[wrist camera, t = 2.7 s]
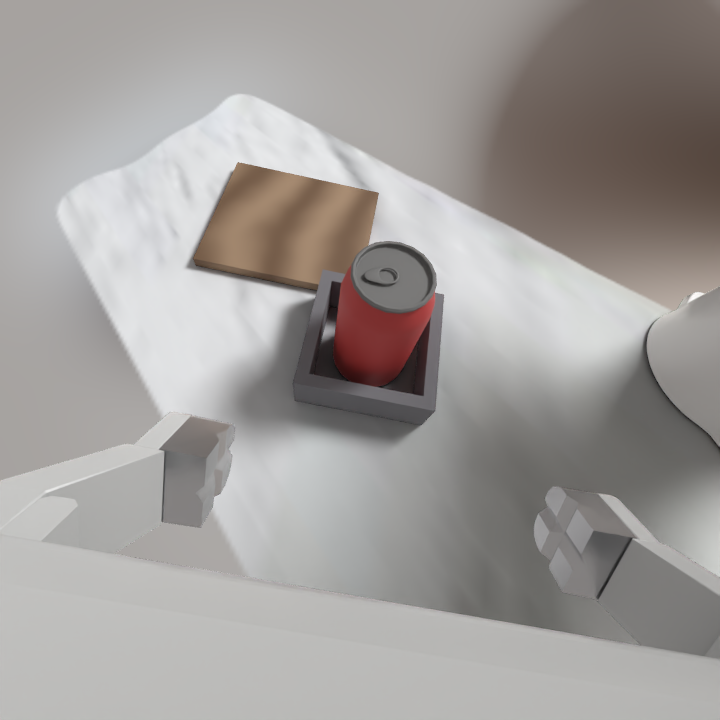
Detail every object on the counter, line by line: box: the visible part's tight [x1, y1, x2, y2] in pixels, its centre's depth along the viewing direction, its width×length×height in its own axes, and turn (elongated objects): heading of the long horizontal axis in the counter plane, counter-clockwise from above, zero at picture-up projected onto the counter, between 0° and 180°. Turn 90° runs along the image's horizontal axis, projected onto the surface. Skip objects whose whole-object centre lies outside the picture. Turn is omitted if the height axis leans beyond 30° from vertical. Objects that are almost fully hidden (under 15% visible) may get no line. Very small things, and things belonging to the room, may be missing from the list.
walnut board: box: [193, 162, 379, 290], centre depth 39 cm, size 16×14×1 cm
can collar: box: [293, 270, 444, 425], centre depth 33 cm, size 11×11×4 cm
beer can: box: [333, 241, 437, 387], centre depth 29 cm, size 7×7×12 cm
